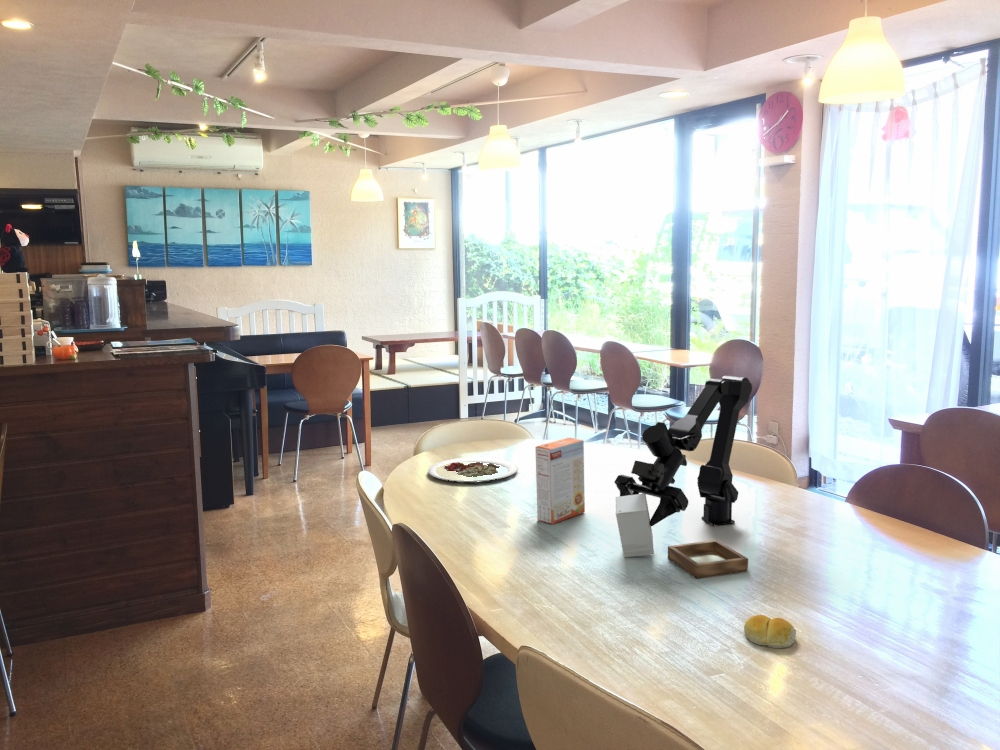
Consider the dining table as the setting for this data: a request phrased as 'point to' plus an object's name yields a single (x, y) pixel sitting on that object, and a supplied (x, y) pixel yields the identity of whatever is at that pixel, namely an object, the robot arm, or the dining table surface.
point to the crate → (707, 559)
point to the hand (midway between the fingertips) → (634, 520)
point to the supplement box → (634, 525)
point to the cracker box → (560, 480)
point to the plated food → (474, 467)
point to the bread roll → (769, 631)
